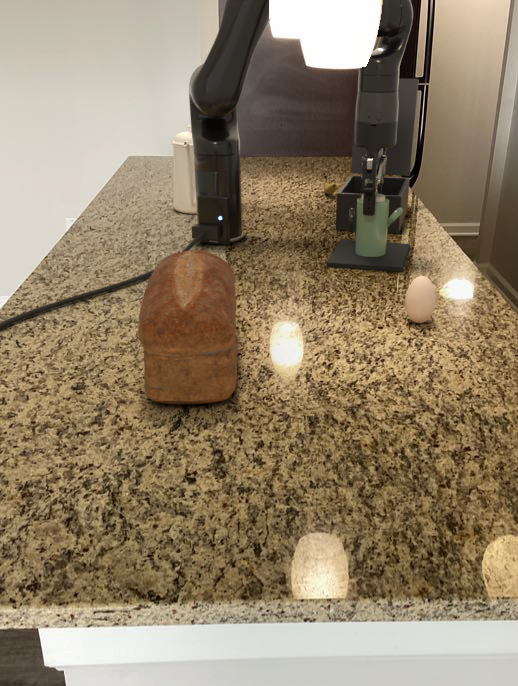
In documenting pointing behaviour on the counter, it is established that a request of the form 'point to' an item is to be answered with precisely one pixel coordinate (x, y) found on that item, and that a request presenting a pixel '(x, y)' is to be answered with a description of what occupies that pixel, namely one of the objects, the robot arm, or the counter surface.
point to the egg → (420, 299)
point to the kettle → (372, 227)
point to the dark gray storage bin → (391, 188)
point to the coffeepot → (184, 173)
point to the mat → (388, 262)
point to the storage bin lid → (402, 151)
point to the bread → (189, 329)
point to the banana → (329, 187)
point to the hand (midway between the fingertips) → (371, 209)
